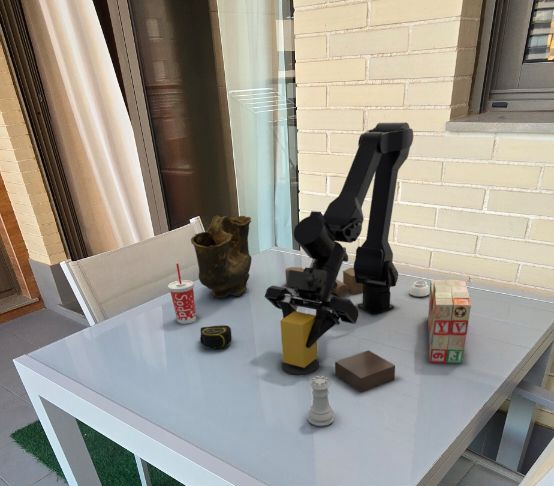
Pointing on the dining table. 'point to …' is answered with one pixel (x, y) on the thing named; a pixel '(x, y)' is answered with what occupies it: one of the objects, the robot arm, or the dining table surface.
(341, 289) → the wooden block set
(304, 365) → the ochre block
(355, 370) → the walnut block
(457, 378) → the dining table surface
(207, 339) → the tape measure
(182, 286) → the beverage cup
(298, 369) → the rubber mat
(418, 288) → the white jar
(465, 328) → the stack of blocks
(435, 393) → the dining table surface
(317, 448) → the dining table surface
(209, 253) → the pottery vessel
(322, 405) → the rook chess piece
